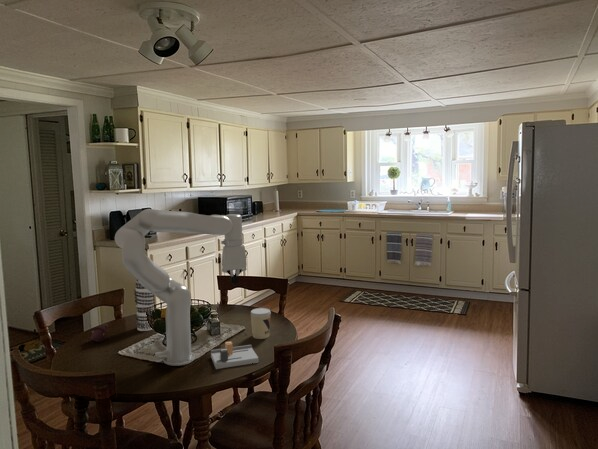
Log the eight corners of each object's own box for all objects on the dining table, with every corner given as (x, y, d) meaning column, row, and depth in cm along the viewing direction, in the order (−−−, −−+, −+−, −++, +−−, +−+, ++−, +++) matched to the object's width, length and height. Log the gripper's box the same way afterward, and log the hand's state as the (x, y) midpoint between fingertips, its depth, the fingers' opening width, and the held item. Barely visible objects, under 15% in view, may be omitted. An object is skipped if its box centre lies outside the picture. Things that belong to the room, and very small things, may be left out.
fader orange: (226, 354, 186) (226, 344, 186) (225, 351, 189) (225, 341, 189) (232, 353, 187) (232, 343, 187) (231, 350, 190) (231, 340, 190)
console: (215, 369, 178) (215, 361, 177) (211, 357, 189) (210, 350, 189) (258, 362, 184) (258, 355, 183) (251, 351, 195) (251, 344, 194)
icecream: (100, 333, 199) (115, 324, 214) (84, 329, 199) (100, 320, 214) (96, 348, 199) (112, 339, 214) (80, 344, 200) (97, 334, 215)
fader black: (221, 361, 179) (221, 351, 179) (220, 358, 182) (220, 348, 182) (228, 360, 180) (227, 350, 180) (226, 357, 183) (226, 347, 183)
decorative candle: (133, 327, 224) (130, 277, 221) (151, 323, 230) (149, 274, 227) (140, 332, 218) (137, 281, 214) (158, 328, 223) (156, 278, 220)
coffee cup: (268, 340, 207) (267, 314, 206) (248, 338, 209) (247, 313, 207) (273, 333, 216) (272, 308, 215) (254, 331, 218) (253, 307, 216)
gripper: (217, 245, 191) (218, 288, 193) (252, 243, 196) (253, 285, 198) (214, 242, 198) (215, 284, 200) (248, 240, 203) (249, 281, 205)
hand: (234, 284), depth 199 cm, fingers closed
